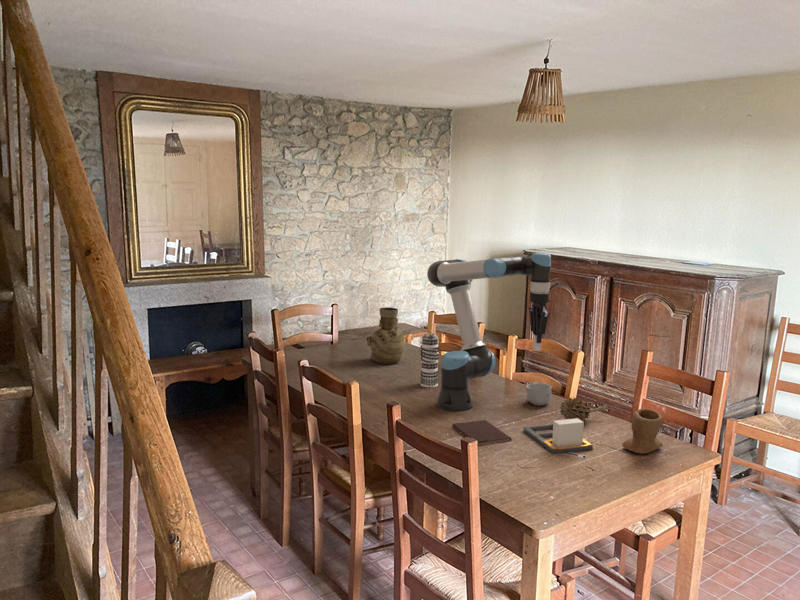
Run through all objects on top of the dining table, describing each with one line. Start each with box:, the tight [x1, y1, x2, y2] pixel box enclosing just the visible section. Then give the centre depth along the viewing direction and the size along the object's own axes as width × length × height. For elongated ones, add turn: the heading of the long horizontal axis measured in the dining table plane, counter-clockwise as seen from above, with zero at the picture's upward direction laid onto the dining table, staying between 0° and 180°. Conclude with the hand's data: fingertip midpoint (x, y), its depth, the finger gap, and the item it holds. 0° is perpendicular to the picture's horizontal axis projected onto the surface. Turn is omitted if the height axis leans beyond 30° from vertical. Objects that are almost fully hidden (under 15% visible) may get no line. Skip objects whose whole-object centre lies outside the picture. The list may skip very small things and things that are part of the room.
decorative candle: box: [420, 332, 440, 388], centre depth 295 cm, size 9×9×25 cm
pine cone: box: [558, 397, 609, 422], centre depth 251 cm, size 22×10×10 cm, turn 110°
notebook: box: [451, 419, 513, 446], centre depth 236 cm, size 15×20×2 cm
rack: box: [522, 424, 594, 455], centre depth 230 cm, size 16×23×2 cm
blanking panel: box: [551, 418, 585, 448], centre depth 223 cm, size 10×4×10 cm, turn 106°
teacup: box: [525, 381, 553, 406], centre depth 273 cm, size 14×11×8 cm
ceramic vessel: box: [366, 306, 405, 365], centre depth 336 cm, size 19×21×30 cm
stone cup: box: [622, 408, 664, 455], centre depth 221 cm, size 15×12×15 cm
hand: (536, 350), depth 246 cm, fingers closed
